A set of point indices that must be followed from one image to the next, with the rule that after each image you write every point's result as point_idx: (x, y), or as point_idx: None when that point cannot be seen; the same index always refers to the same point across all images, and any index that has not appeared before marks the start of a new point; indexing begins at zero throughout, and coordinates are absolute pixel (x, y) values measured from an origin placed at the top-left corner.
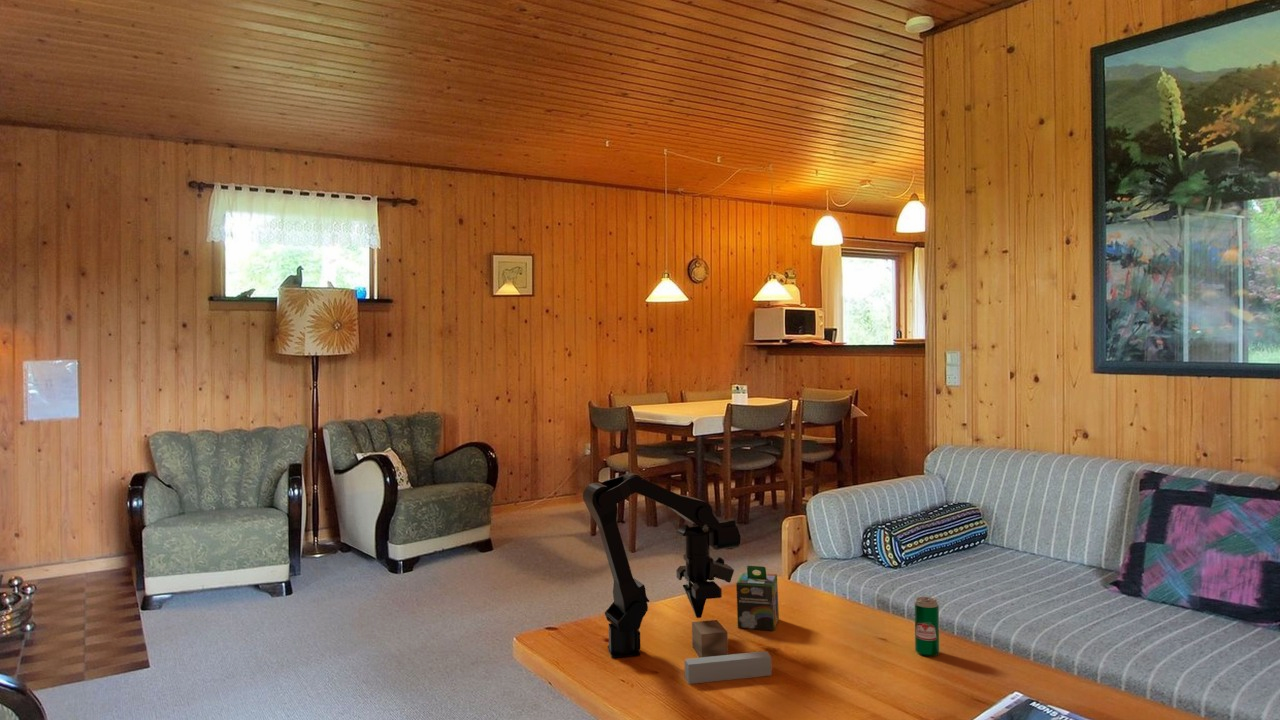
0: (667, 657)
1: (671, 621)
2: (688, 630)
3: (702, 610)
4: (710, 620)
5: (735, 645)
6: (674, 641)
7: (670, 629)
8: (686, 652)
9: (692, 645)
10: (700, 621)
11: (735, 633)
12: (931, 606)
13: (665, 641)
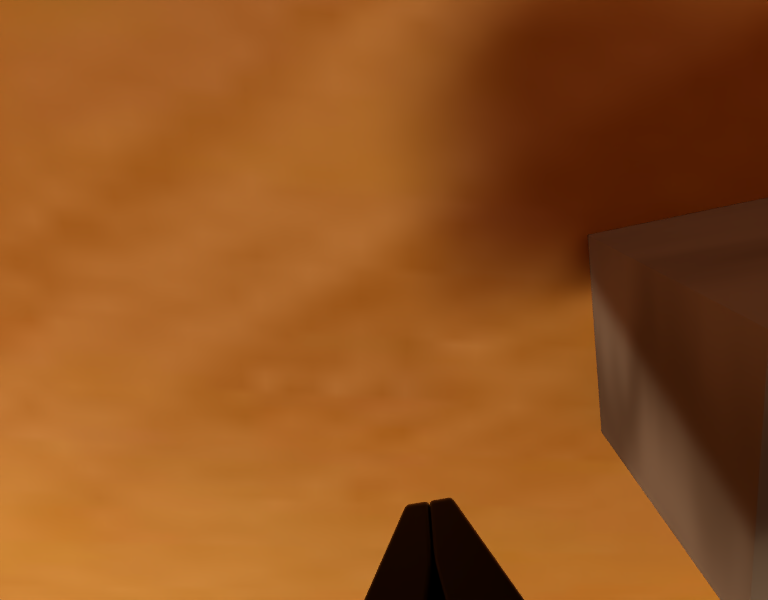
0: None
1: (52, 544)
2: (233, 443)
3: (507, 579)
4: (765, 429)
5: (632, 47)
6: None
7: (224, 553)
8: None
9: (610, 441)
10: (757, 553)
11: (282, 8)
12: None
13: None
